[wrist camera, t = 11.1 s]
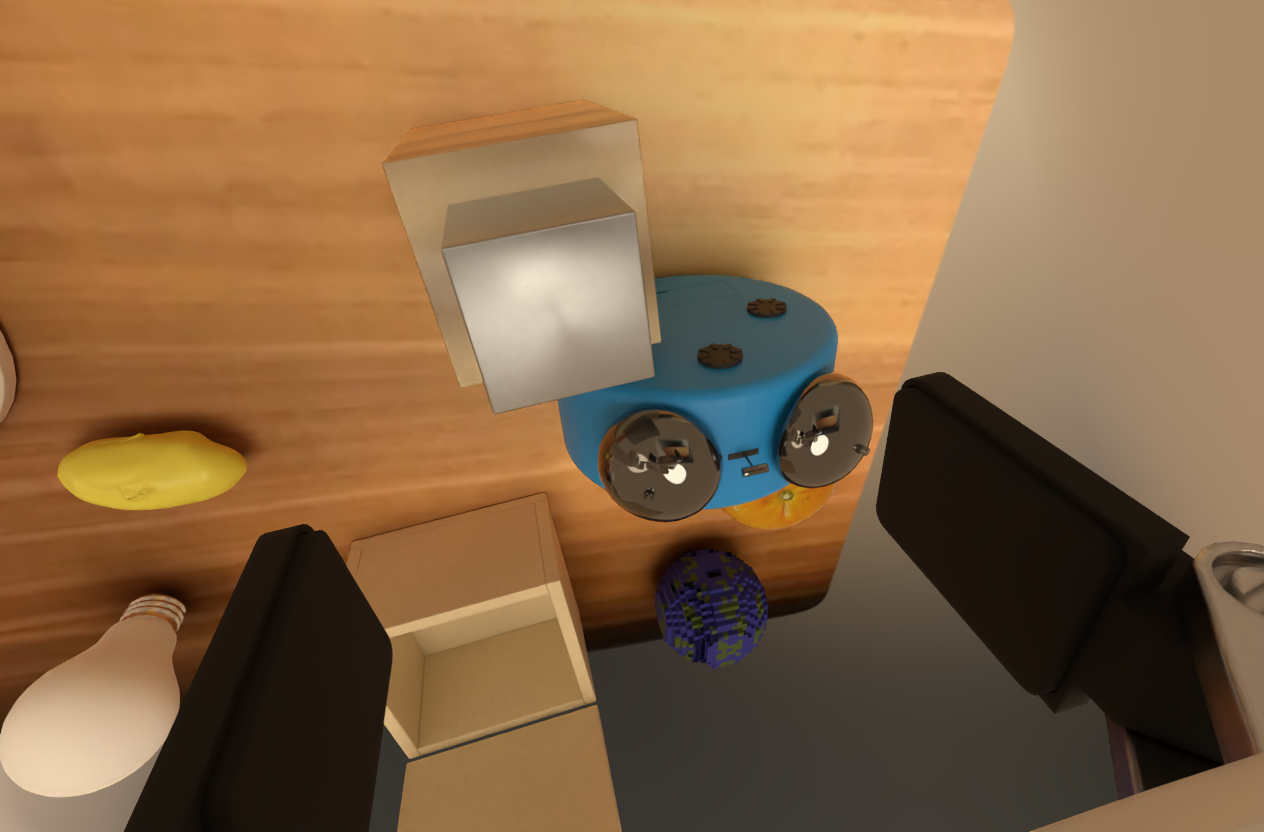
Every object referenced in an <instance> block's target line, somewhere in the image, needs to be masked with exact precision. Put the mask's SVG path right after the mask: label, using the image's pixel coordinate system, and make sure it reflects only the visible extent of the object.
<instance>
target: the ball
mask: <svg viewBox="0 0 1264 832" xmlns="http://www.w3.org/2000/svg"><path fill="white" fill-rule="evenodd" d="M655 608H656V611H657V617H658V623H659V626H660V629H661V632H662V635H663V638H664V641H666V642H667V643H668V644H669V646H670V647H672V648H673V649H675V651H676V653H678V654H679V655H680V656H683V659H684V658H686V659H689V660H691V661H692V662H697V663H698V661H699V662H702V663H707V664H709V667H710V666H711V667H713V668H718V667H722V666H726V665H731V664H735V663H737V662H739V661H740V659H742V658H743V657H745V655H747V654H748V653H750V651H752V649H753V648H754V647H757V645H758V641H760V638H761V636H762V635H763V631H764V630H765V627H766V622H767V616H768V614H767V609H768V604H767V602H766V596H765V590H764V588H763V586H762V585H761V583H760V581H759V579H758V577H757V575H756V574H755V572H754V571H753V569H752V567H749V566H748V565H747V564H745V563H744V562H743V560H742V561H741V560H740V559H739V558H736V556H735V554H734V555H732V553H731V552H725V553H723V551H722V550H721V551H720V550H719V551H718V550H717V551H714V549H703V550H698V551H693V552H688V553H685V556H684V557H681V558H678V561H676V562H673V563H670V566H669V568H667V571H665V574H664V575H662V578H661V582H660V583H658V584H657V591H655Z"/></svg>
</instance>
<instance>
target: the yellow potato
mask: <svg viewBox="0 0 1264 832" xmlns="http://www.w3.org/2000/svg"><path fill="white" fill-rule="evenodd" d="M246 471H247V462H246V460H245V459H244V457H243V456H242V455H241V454H240V453H238V452H237V451H235V450H233V449H231V448H229V447H226V446H224V445H221V444H218V443H215V442H213V441H211V440H209V439H207V438H206V437H205V436H204V435H202V434H201V433H198V432H195V431H174V432H167V433H162V434H151V435H144V434H140V433H139V434H137V435H135V436H132V437H120V438H106V439H100V440H95V441H91V442H89V443H86V444H84V445H82V446H80V447H78V448H76V449H75V450H73V451H71V452H70V453H69V454H67V455H66V456H65V457H64V458H63V459H62V461H61V462H60V464H59V467H58V474H57V476H58V478H59V479H60V481H61V483H62V484H63V485H64V486H65V487H66V489H67V490H68V491H70V492H71V493H72V494H74V495H75V496H77V497H78V498H80V499H82V500H84V501H86V502H89V503H92V504H96V505H100V506H105V507H110V508H115V509H122V510H151V509H162V508H170V507H174V506H180V505H186V504H191V503H195V502H200V501H204V500H207V499H209V498H212V497H215V496H217V495H219V494H222V493H224V492H226V491H228V490H229V489H231V488H232V487H233V486H234V485H235V484H236V483H237V482H238V481H239V480H240V479H241V478H242V477H243V476H244V474H245V473H246Z"/></svg>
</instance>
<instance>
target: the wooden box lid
mask: <svg viewBox="0 0 1264 832" xmlns="http://www.w3.org/2000/svg"><path fill="white" fill-rule="evenodd" d="M397 832H622V831H621V826H620V820H619V815H618V810H617V805H616V800H615V794H614V789H613V784H612V778H611V773H610V768H609V762H608V757H607V752H606V746H605V741H604V736H603V731H602V725H601V720H600V715H599V710H598V707H597V705H594V706H591V707H588V708H585V709H581V710H578V711H575V712H572V713H569V714H566V715H562V716H559V717H555V718H552V719H549V720H546V721H543V722H539V723H536V724H533V725H530V726H526V727H523V728H520V729H517V730H514V731H510V732H507V733H504V734H501V735H497V736H495V737H491V738H488V739H485V740H481V741H478V742H475V743H472V744H468V745H465V746H462V747H459V748H456V749H452V750H449V751H446V752H443V753H439V754H436V755H433V756H430V757H426V758H423V759H420V760H417V761H414V762H410V763H407V766H406V773H405V781H404V789H403V795H402V802H401V809H400V816H399V823H398V830H397Z"/></svg>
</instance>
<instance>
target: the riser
mask: <svg viewBox="0 0 1264 832" xmlns="http://www.w3.org/2000/svg"><path fill="white" fill-rule="evenodd" d="M382 165H383V168H384V171H385V174H386V177H387V180H388V183H389V185H390V188H391V191H392V194H393V197H394V200H395V203H396V205H397V208H398V211H399V214H400V217H401V220H402V223H403V225H404V228H405V231H406V234H407V237H408V240H409V243H410V245H411V248H412V251H413V254H414V257H415V260H416V263H417V265H418V268H419V271H420V274H421V277H422V280H423V283H424V285H425V288H426V291H427V294H428V297H429V300H430V303H431V305H432V308H433V311H434V314H435V317H436V320H437V323H438V325H439V328H440V331H441V334H442V337H443V340H444V343H445V345H446V348H447V351H448V354H449V357H450V360H451V363H452V365H453V368H454V371H455V374H456V377H457V380H458V383H459V385H460V387H461V388H463V387H467V386H472V385H476V384H480V383H483V379H482V376H481V373H480V370H479V367H478V364H477V361H476V358H475V355H474V351H473V348H472V345H471V342H470V339H469V336H468V333H467V330H466V327H465V323H464V320H463V317H462V314H461V311H460V308H459V305H458V302H457V298H456V295H455V292H454V289H453V286H452V283H451V280H450V277H449V274H448V270H447V267H446V264H445V261H444V258H443V255H442V252H441V247H442V241H443V234H444V227H445V221H446V214H447V208H448V206H449V205H453V204H458V203H464V202H469V201H474V200H480V199H485V198H490V197H496V196H501V195H506V194H512V193H517V192H523V191H528V190H533V189H539V188H544V187H549V186H555V185H560V184H565V183H571V182H576V181H582V180H587V179H592V178H600V179H601V180H602V181H603V182H604V183H605V184H606V185H608V186H609V187H610V188H611V189H612V190H613V191H614V192H615V193H616V194H617V195H618V196H619V197H620V198H622V199H623V200H624V201H625V202H626V203H627V204H628V205H629V206H630V207H631V208H632V209H633V210H635V212H636V219H637V228H638V236H639V244H640V253H641V261H642V269H643V278H644V286H645V294H646V303H647V311H648V319H649V328H650V336H651V344H655V343H660V342H661V334H660V325H659V315H658V306H657V297H656V288H655V279H654V269H653V260H652V251H651V242H650V232H649V223H648V214H647V205H646V196H645V186H644V177H643V168H642V159H641V150H640V140H639V131H638V122H637V119H635V118H633V117H630V116H627V115H624V114H622V113H619V112H616V111H613V110H611V109H608V108H605V107H602V106H600V105H597V104H594V103H591V102H589V101H586V100H580V101H574V102H568V103H562V104H556V105H550V106H544V107H538V108H532V109H526V110H520V111H514V112H508V113H502V114H496V115H490V116H485V117H479V118H473V119H467V120H461V121H455V122H449V123H443V124H437V125H431V126H425V127H419V128H413V129H411V130H410V131H409V132H408V133H407V134H406V136H405V137H404V138H403V139H402V140H401V142H400V143H399V144H398V145H397V146H396V148H395V149H394V150H393V151H392V152H391V154H390V155H389V156H388V157H387V158H386V160H385V161H384V162H383V163H382Z"/></svg>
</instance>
